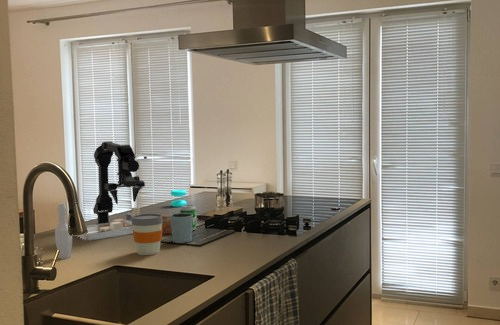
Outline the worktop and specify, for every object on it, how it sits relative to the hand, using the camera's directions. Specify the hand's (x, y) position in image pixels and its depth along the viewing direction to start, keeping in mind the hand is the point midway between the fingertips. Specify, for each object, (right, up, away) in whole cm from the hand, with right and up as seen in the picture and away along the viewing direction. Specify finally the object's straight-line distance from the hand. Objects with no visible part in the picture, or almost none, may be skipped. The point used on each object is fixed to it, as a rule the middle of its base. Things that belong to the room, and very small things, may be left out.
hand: (125, 202), depth 260 cm
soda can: (+30, -14, +3) cm, 34 cm away
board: (-4, -14, +5) cm, 16 cm away
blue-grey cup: (+30, -16, -21) cm, 40 cm away
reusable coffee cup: (+19, -18, -40) cm, 47 cm away
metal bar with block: (+3, -11, +10) cm, 15 cm away
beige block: (-5, -13, +1) cm, 14 cm away
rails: (-8, -15, +2) cm, 17 cm away
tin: (+20, -15, -1) cm, 25 cm away
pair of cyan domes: (+15, -8, +81) cm, 82 cm away
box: (-15, -15, -4) cm, 22 cm away
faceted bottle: (-14, -19, -45) cm, 51 cm away
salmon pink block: (-5, -12, +8) cm, 16 cm away
